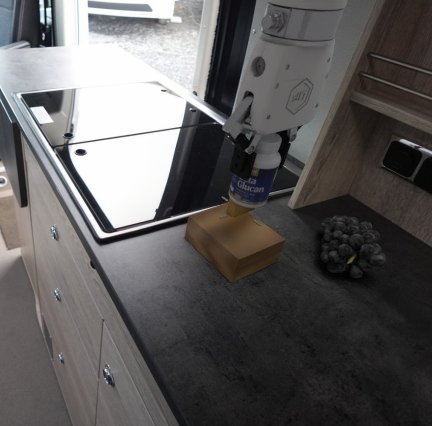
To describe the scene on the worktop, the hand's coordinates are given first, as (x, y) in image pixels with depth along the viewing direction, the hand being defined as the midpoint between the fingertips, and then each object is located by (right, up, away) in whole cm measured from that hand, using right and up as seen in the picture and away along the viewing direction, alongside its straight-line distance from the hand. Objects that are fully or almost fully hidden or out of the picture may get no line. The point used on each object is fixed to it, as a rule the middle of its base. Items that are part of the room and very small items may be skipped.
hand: (255, 168), depth 51 cm
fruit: (+19, -13, +13) cm, 27 cm away
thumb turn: (+3, -6, +14) cm, 15 cm away
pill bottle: (0, -4, +3) cm, 5 cm away
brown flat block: (+2, -11, +14) cm, 19 cm away
